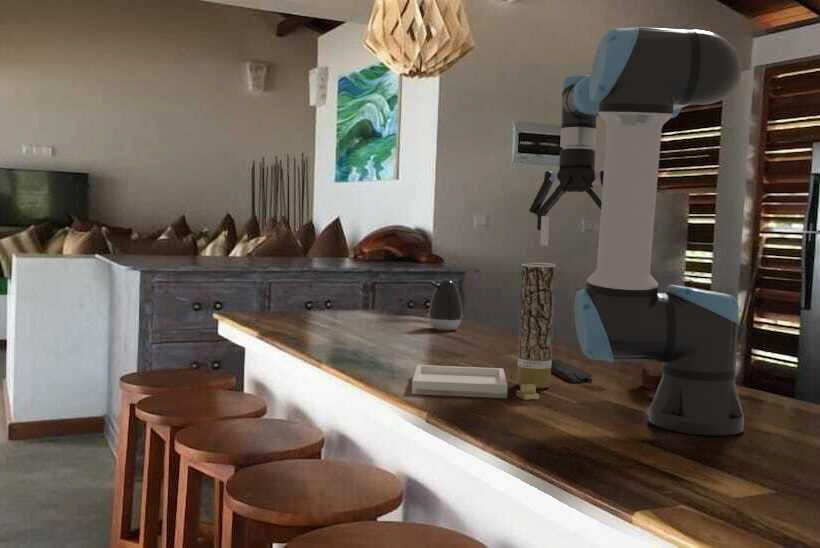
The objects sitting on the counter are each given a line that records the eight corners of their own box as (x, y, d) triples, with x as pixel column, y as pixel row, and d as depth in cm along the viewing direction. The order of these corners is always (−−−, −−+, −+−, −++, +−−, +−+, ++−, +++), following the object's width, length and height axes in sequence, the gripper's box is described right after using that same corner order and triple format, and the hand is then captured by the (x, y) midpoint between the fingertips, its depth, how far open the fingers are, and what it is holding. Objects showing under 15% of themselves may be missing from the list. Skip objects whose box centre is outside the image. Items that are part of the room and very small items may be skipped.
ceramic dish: (506, 398, 162) (507, 385, 162) (411, 393, 163) (412, 380, 163) (502, 380, 180) (503, 368, 179) (417, 376, 181) (417, 364, 181)
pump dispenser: (421, 327, 261) (423, 277, 260) (452, 326, 265) (453, 277, 264) (436, 332, 251) (438, 280, 250) (468, 331, 256) (469, 280, 255)
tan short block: (539, 400, 162) (539, 386, 162) (524, 401, 161) (525, 386, 161) (530, 396, 166) (530, 382, 166) (515, 396, 165) (516, 382, 165)
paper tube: (549, 390, 170) (555, 265, 169) (515, 388, 172) (520, 263, 170) (551, 384, 177) (556, 263, 175) (517, 382, 178) (523, 262, 177)
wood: (604, 386, 180) (605, 372, 179) (570, 386, 178) (571, 371, 178) (568, 367, 201) (568, 354, 201) (537, 367, 200) (538, 354, 200)
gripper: (639, 149, 183) (635, 249, 184) (530, 151, 196) (526, 244, 197) (629, 146, 176) (624, 249, 178) (517, 148, 189) (513, 244, 190)
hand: (573, 247), depth 187 cm, fingers open, 13 cm apart
